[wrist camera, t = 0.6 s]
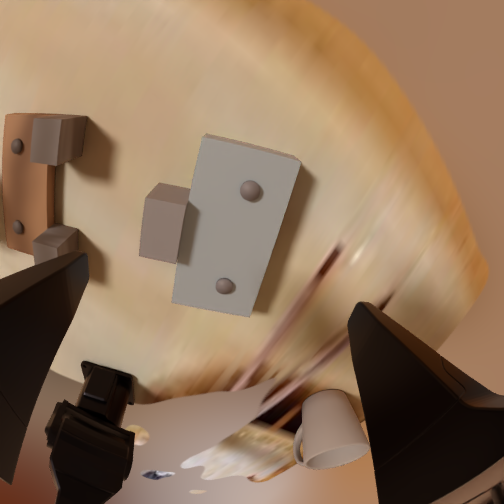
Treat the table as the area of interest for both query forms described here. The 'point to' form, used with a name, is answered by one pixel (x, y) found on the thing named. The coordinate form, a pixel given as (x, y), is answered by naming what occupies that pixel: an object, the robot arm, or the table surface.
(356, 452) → the cup
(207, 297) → the leaf
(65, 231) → the leaf
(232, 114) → the table surface
